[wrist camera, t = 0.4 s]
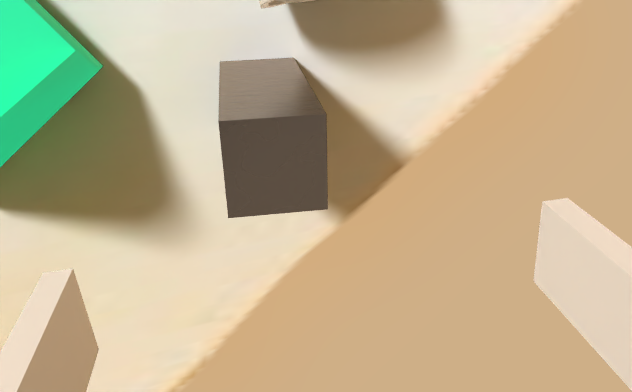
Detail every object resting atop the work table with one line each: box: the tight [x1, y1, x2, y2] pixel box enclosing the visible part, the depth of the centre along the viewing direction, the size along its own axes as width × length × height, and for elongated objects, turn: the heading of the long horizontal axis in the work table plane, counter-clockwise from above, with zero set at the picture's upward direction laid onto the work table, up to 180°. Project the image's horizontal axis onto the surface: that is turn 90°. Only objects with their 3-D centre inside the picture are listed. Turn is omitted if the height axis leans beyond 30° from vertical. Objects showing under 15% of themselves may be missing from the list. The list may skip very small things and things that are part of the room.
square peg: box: [219, 58, 328, 218], centre depth 30 cm, size 4×4×12 cm
